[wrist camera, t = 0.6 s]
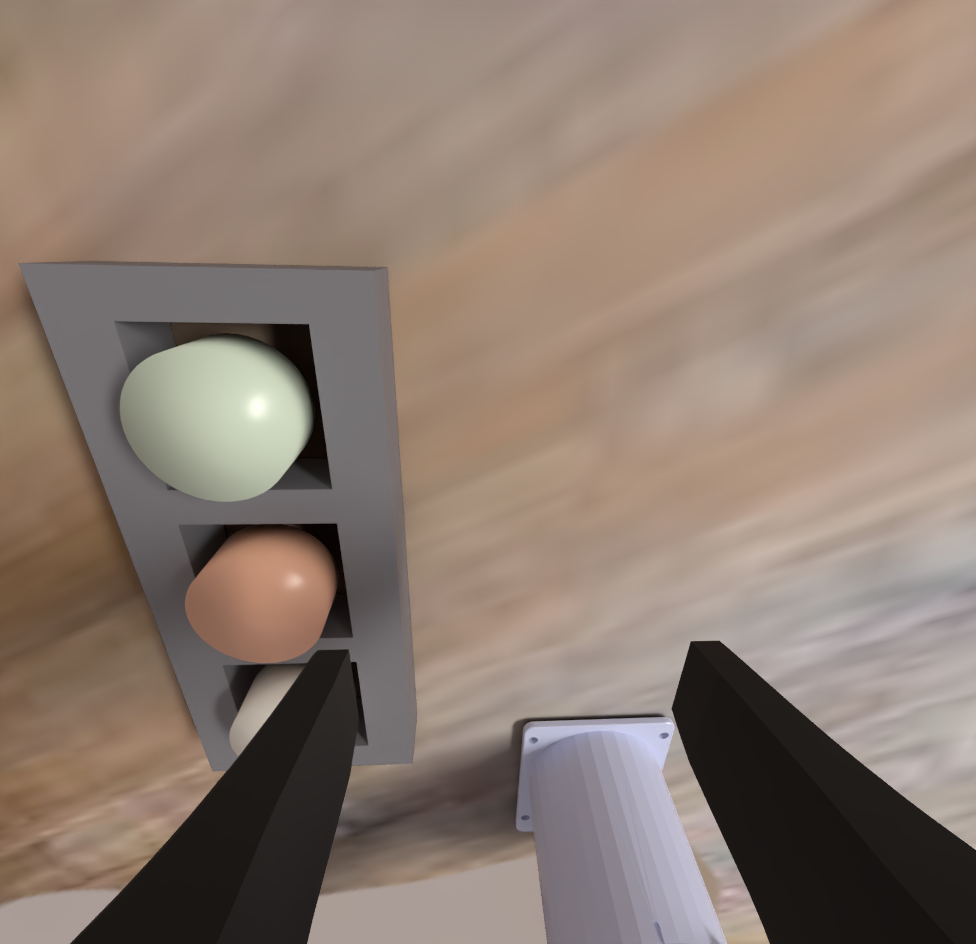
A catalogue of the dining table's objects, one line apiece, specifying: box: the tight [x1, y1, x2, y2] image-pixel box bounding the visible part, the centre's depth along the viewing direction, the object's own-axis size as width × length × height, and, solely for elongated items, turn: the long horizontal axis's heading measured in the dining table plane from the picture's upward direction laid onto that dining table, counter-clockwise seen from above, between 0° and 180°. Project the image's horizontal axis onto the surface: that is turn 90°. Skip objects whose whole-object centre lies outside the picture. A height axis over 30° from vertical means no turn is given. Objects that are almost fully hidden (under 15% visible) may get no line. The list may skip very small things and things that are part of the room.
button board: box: [19, 261, 417, 771], centre depth 18 cm, size 21×9×2 cm, turn 179°
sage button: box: [120, 334, 315, 502], centre depth 13 cm, size 4×4×2 cm
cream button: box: [229, 663, 357, 757], centre depth 19 cm, size 4×4×2 cm
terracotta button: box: [185, 524, 339, 663], centre depth 16 cm, size 4×4×2 cm
